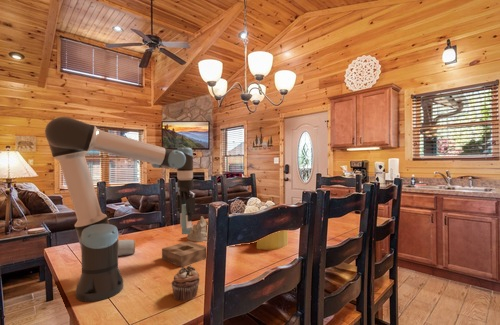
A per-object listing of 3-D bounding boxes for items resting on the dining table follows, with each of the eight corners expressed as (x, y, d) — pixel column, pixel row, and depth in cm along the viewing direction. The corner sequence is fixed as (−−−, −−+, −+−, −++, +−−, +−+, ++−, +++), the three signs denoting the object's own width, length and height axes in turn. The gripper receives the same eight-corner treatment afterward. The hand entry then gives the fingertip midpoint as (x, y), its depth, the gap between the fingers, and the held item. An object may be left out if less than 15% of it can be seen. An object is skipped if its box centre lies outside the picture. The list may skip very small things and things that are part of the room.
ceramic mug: (135, 255, 134) (135, 240, 134) (117, 258, 130) (117, 242, 130) (134, 249, 144) (134, 235, 144) (117, 251, 140) (117, 237, 140)
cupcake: (190, 286, 101) (190, 260, 101) (204, 295, 94) (204, 267, 94) (166, 295, 94) (166, 266, 94) (179, 305, 87) (179, 275, 87)
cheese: (240, 248, 144) (239, 221, 144) (246, 235, 170) (246, 212, 170) (288, 250, 141) (288, 222, 141) (287, 236, 167) (287, 212, 167)
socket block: (181, 267, 119) (181, 256, 119) (162, 258, 129) (161, 248, 129) (208, 257, 131) (208, 247, 131) (189, 250, 141) (189, 241, 141)
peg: (185, 234, 127) (184, 205, 127) (180, 233, 130) (179, 204, 130) (191, 232, 130) (191, 204, 130) (187, 231, 133) (186, 203, 133)
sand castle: (220, 237, 164) (218, 213, 164) (196, 244, 153) (194, 218, 153) (206, 234, 176) (204, 211, 176) (183, 240, 165) (182, 216, 165)
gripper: (202, 179, 127) (203, 228, 127) (181, 178, 138) (182, 222, 139) (189, 180, 121) (190, 231, 122) (168, 179, 133) (169, 225, 133)
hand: (185, 226), depth 130 cm, fingers closed on peg, 4 cm apart
